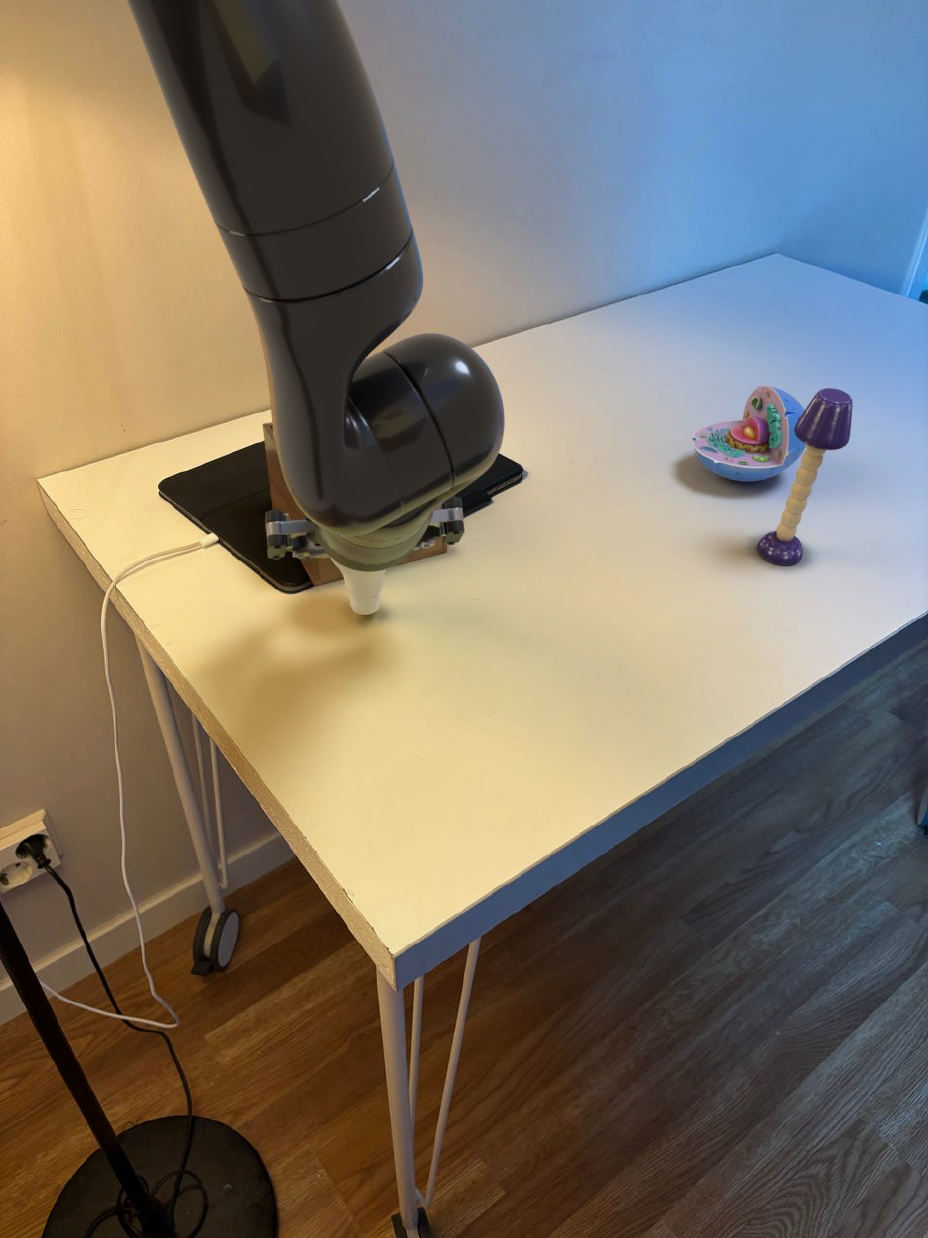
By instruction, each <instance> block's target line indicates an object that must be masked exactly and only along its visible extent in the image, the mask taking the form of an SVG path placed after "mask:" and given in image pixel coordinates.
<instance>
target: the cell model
mask: <svg viewBox="0 0 928 1238" xmlns="http://www.w3.org/2000/svg"><path fill="white" fill-rule="evenodd" d="M805 409H806V408H804V406H803V405H802V404H801V402H800V401H799V400H798V399H796V398H795V396H793V395H792V394H790V393H789V392H787V391H785V390H783V389H781V388H778V387H775V386H771V385H770V386H769V385H758V386H757V387H755V388H754V390H753V391H752V392H751V393H750V395H749V396H748V398H747V400H746V402H745V404H744V409H743V413H742V419H738V420H737V419H735V420H725V421H718V422H713V423H711V424H707V425H705V426H702V427H701V428H700V429H698V430H696V431H695V432H694V433H693V434H692V437H691V438H692V439H691V440H692V441H691V442H692V447H693V450H694V452H695V454H696V457H697V459H698V460H699V462H700V463H701V464H702V465H703V466H704V467H705V469H707V470H708V471H710V472H712V473H714V474H715V475H717V476H719V477H720V478H724V479H727V480H730V481H735V482H741V483H742V482H744V483H752V482H753V483H755V482H760V481H765V480H768V479H771V478H774V477H775V476H777V475H780V474H782V473H783V472H785V471H786V470H788V469H789V468H790V467H791V466H793V465H794V464H795V463H796V462H797V461H798V460H799V458H800V457H802V455H803V454H804V452H805V451H806V444H805V443H803V442H802V441H800V440H799V439H798V438H797V437H796V435H795V432H794V428H795V425H796V423H797V421H798V420H799V418H800V417H801V415H802V414H803V412H804V411H805Z"/></svg>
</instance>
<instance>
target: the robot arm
mask: <svg viewBox="0 0 928 1238" xmlns="http://www.w3.org/2000/svg"><path fill="white" fill-rule="evenodd" d="M126 1H127V3H128V6H129V9H130V11H131V14H132V17H133V19H134V22H135V25H136V27H137V29H138V32H139V34H140V37H141V39H142V42H143V45H144V47H145V50H146V52H147V56H148V58H149V60H150V64H151V66H152V69H153V71H154V74H155V77H156V79H157V83H158V85H159V87H160V90H161V93H162V96H163V98H164V101H165V103H166V106H167V109H168V111H169V114H170V116H171V119H172V122H173V124H174V127H175V129H176V132H177V135H178V138H179V140H180V143H181V145H182V148H183V150H184V152H185V155H186V157H187V160H188V163H189V165H190V168H191V170H192V172H193V175H194V177H195V180H196V182H197V185H198V187H199V190H200V193H201V194H202V197H203V199H204V202H205V204H206V206H207V208H208V210H209V213H210V215H211V217H212V219H213V222H214V224H215V227H216V229H217V231H218V233H219V237H220V238H221V241H222V243H223V246H224V247H225V250H226V252H227V255H228V257H229V259H230V261H231V264H232V266H233V268H234V271H235V272H236V275H237V277H238V279H239V282H240V283H241V286H242V289H243V290H244V293H245V295H246V299H247V300H248V303H249V306H250V308H251V311H252V313H253V316H254V320H255V323H256V326H257V331H258V335H259V339H260V343H261V346H262V352H263V353H262V354H263V358H264V363H265V369H266V376H267V383H268V392H269V393H268V394H269V403H270V413H271V422H272V425H273V434H274V441H275V446H276V452H277V457H278V462H279V466H280V469H281V472H282V475H283V478H284V481H285V484H286V486H287V488H288V490H289V492H290V494H291V496H292V498H293V499H294V501H295V503H296V504H297V505H298V507H299V508H300V509H301V511H302V512H303V513H304V514H305V515H306V516H305V519H304V520H296V521H290V516H289V514H283V511H278V510H276V509H274V510H273V509H270V510H269V511H266V512H265V517H264V529H265V533H266V545H267V558H268V559H272V560H274V561H275V560H280V559H282V558H284V557H285V556H286V552H291V553H292V558H297V559H299V560H300V559H304V562H309V561H312V558H329V557H331V558H332V559H334V560H335V561H336V562H338V563H339V564H341V565H343V566H345V567H347V568H350V569H353V570H357V571H364V572H374V571H381V570H385V569H386V570H388V569H390V568H392V567H394V566H397V565H396V564H398V563H400V562H401V561H402V560H404V559H405V558H406V557H407V556H408V555H409V554H410V553H417V552H420V551H421V550H422V549H423V547H424V548H430V546H434V545H435V544H434V540H436V539H442V538H443V544H447V546H453V545H455V544H458V543H460V541H461V539H462V538H463V536H464V534H465V530H466V529H465V520H464V512H463V511H464V510H463V503H462V497H459V496H456V494H458V493H459V492H461V491H463V490H464V489H465V488H466V487H468V486H469V485H471V484H472V483H474V482H475V481H477V480H478V479H479V478H480V477H482V476H483V475H484V474H485V473H486V472H487V471H488V470H489V469H490V468H491V467H492V466H493V464H494V463H495V461H496V460H497V458H498V456H499V453H500V451H501V448H502V445H503V441H504V437H505V436H504V435H505V427H506V417H505V416H506V415H505V405H504V400H503V397H502V393H501V390H500V386H499V385H498V381H497V379H496V378H495V376H494V374H493V372H492V370H491V368H490V367H489V365H488V364H487V362H485V360H484V359H483V358H482V357H481V355H479V353H477V352H476V351H475V350H474V349H473V348H472V347H471V346H469V345H467V344H466V343H465V342H462V341H461V340H459V339H457V338H455V337H452V336H450V335H446V334H441V333H434V332H433V333H432V332H430V333H429V332H427V333H420V334H419V333H418V334H415V335H412V336H409V337H406V338H404V339H400V340H399V341H397V342H395V343H393V344H392V345H390V346H388V347H386V348H383V349H381V351H379V352H376V353H374V354H373V355H370V354H372V352H373V351H375V350H376V348H378V347H379V346H380V345H381V344H382V343H383V342H384V341H385V340H386V339H388V338H389V337H390V336H391V335H392V334H393V333H394V332H395V331H396V330H397V329H398V328H399V327H400V326H401V325H402V324H404V323H405V322H406V320H407V319H408V318H409V317H410V316H411V314H412V313H413V311H414V310H415V309H416V307H417V305H418V303H419V301H420V300H421V296H422V292H423V289H424V270H423V263H422V259H421V258H422V257H421V254H420V251H419V247H418V242H417V239H416V236H415V235H416V234H415V232H414V227H413V225H412V221H411V217H410V213H409V209H408V207H407V202H406V198H405V194H404V191H403V188H402V184H401V181H400V176H399V173H398V170H397V166H396V163H395V159H394V155H393V151H392V147H391V144H390V139H389V137H388V133H387V130H386V126H385V123H384V120H383V117H382V114H381V109H380V108H379V104H378V101H377V98H376V95H375V92H374V89H373V86H372V83H371V81H370V77H369V75H368V72H367V69H366V67H365V64H364V61H363V58H362V56H361V53H360V50H359V48H358V45H357V43H356V41H355V38H354V35H353V32H352V30H351V29H350V26H349V23H348V21H347V18H346V15H345V14H344V12H343V9H342V6H341V4H340V2H339V0H126ZM369 355H370V356H369ZM437 506H438V510H434V509H435V508H436V507H437Z"/></svg>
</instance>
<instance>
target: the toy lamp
mask: <svg viewBox="0 0 928 1238" xmlns="http://www.w3.org/2000/svg"><path fill="white" fill-rule="evenodd" d="M804 409H805V411H804V412H803V414H802V415H801V417H800V418H799V420H798V421H797V423H796V425H795V428H794V432H795V435H796V437H797V438H798V439H799V440H800V441H802V442H803V443H805V444H806V448H805V450H804V451H803V453H802V455H801V460H800V461H801V462H800V464H801V465H799V467H798V468H797V470H796V474H795V480H793V483H792V484H791V488H790V494H789V495H788V497H787V499H786V502H785V508H784V510H783V511H782V513H781V516H780V522H779V523H778V525H777V527H776V530H773V531H770V532H767V533H765V534H764V535H763V536H762V537H761V538H760V539H759V541H758V543H757V546H756V550H757V552H758V554H759V555H760V556H761V557H762V558H764V559H765V560H766V561H768V562H771V563H773V564H776V565H780V566H793V565H795V564H798V563H799V562H801V560H802V559H803V555H804V549H803V545H802V542H801V540H800V539H799V538H798V537H797V536H796V535H797V531H798V529H797V528H798V526H799V525H800V523H801V520H802V518H803V512H804V511H805V510H806V507H807V506H808V498H809V497H810V496H811V494H812V491H813V484H814V483H815V481H816V480H817V478H818V473H819V471H818V470H819V469H820V468H821V466H822V464H823V460H824V454H825V453H826V452H827V451H837V450H840V449H842V448H845V447H846V446H847V445H848V444H849V442H850V438H851V429H852V418H853V398H852V396H851V395H850V394H849V393H847V392H846V391H844V390H841V389H838V388H833V387H832V388H831V387H825V388H822V389H820V390H818V391H817V392H816V393H815V395H814V396H813V398H812V399H811V401H810V402H809V403H808V405H807V406H806V408H804Z"/></svg>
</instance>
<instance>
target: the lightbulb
mask: <svg viewBox="0 0 928 1238" xmlns="http://www.w3.org/2000/svg"><path fill="white" fill-rule="evenodd" d="M330 558H331V557H330ZM331 560H332V561H333V562H334V564H335V565H336V566H337V567H338V568H339V570H340V571H341V572H342V574H343V577H344V578H343V580H344V584H345V589H346V591H347V594H348V597H349V605H350V608H351V610H352V611H353V612H354V613H355V614H357V615H361V616H368V615H372V614H374V613H376V612H377V611H378V610H379V609H380V606H381V593H382V590H383V587H384V578H385V573H386V571H387V569H385V570H381V571H374V572H364V571H357V570H353V569H350V568H347V567H345V566H343V565H341V564H339V563H338V562H336V561H335V560H334V559H332V558H331Z"/></svg>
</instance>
